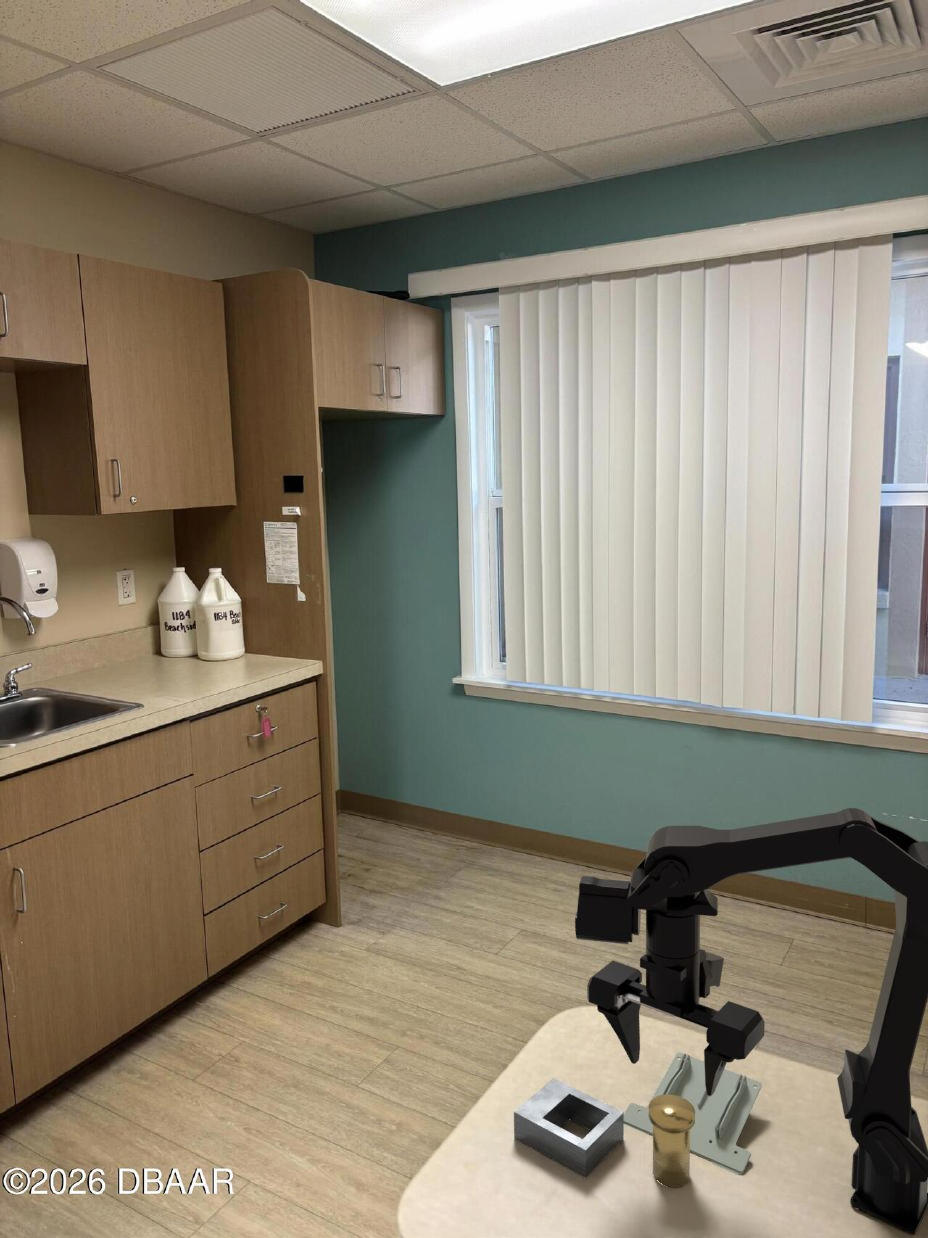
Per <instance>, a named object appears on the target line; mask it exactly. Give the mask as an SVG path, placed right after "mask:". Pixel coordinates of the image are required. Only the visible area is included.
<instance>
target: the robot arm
mask: <svg viewBox="0 0 928 1238" xmlns="http://www.w3.org/2000/svg"><path fill="white" fill-rule="evenodd" d="M843 859H853V860H854V861H856V862H858V863H859V864H861V865H863V866H864V867H865V868H866V869H868V870H869V871H870V872H871V873H873V874H874V875H875V876H876V877H878V878H879V879H881V880H882V881H883V882H884V883H886V884H887V885H888V886H889V887H890V888H891V889H893V890H894V891H893V892H894V908H895V929H894V931H893V932H894V933H893V937H892V942H891V945H890V948H889V954H888V958H887V961H886V967H885V970H884V974H883V978H882V979H883V980H882V983H881V986H880V987H881V988H880V990H879V995H878V1000H877V1004H876V1008H875V1011H874V1016H873V1020H872V1025H871V1028H870V1033H869V1036H868V1040H867V1043H866V1045H865V1047H864V1048H863V1049H861V1051H860V1052H859V1053H855V1052H853V1051H851V1050H849V1049H845V1050H844V1061H843V1068H842V1071H841V1073H840V1074H839V1075H838V1076H837V1078H836V1080H837V1085H838V1089H839V1090H838V1091H839V1095H840V1101H841V1105H842V1110H843V1117H844V1119H845V1120H848V1124H849V1129H850V1131H849V1132H850V1134H851V1136H852V1138H853V1139H854V1141H855V1143H857V1145H858V1146H857V1147H856V1149H855V1150H854V1151H853V1154H852V1166H851V1167H852V1168H851V1184H850V1186H851V1188H852V1189H853V1190H854V1192H853V1194H852V1196H851V1197H850V1205H851V1206H852V1207H854V1208H855V1209H858V1210H859V1211H861V1212H863V1213H866V1214H868V1215H869V1216H873V1217H874V1218H876V1219H879V1220H881V1221H883V1222H885V1223H888V1224H889V1225H892V1227H895V1228H898V1229H899V1230H902V1231H903V1232H906V1233H908V1234H911V1235H915V1234H916V1233H917V1231H918V1229H919V1227H920V1224H921V1223H922V1221H923V1218H924V1216H925V1214H926V1212H927V1210H928V1144H927V1142H926V1139H925V1135H924V1132H923V1129H922V1125H921V1122H920V1120H919V1116H918V1113H917V1110H916V1109H915V1108H914V1107H913V1106H912V1094H911V1093H912V1092H911V1077H910V1076H911V1067H912V1063H913V1060H914V1056H915V1053H916V1048H917V1044H918V1039H919V1037H920V1033H921V1027H922V1024H923V1021H924V1016H925V1012H926V1008H927V1004H928V841H927V840H926V841H925V840H924V841H923V840H922V841H919V840H918V839H916V838H915V837H913V836H911V835H910V834H908V833H907V832H905V831H903V830H901V829H900V828H897V827H895V826H893V825H890V824H887V823H885V822H884V821H880V820H879V819H876V818H875V817H873V816H871V815H869V814H868V813H867V812H866V811H865V810H863V809H860V808H856V807H847V808H844V809H841V810H839V811H837V812H831V813H825V814H818V815H812V816H807V817H800V818H794V819H790V820H789V819H787V820H782V821H776V822H771V823H763V824H756V825H751V826H745V827H739V828H733V829H718V828H717V829H716V828H713V827H712V828H711V827H707V826H703V825H668V826H663V827H660V828H659V829H657V830H656V831H655V832H654V833H653V834H652V836H651V838H650V839H649V841H648V845H647V849H646V855H645V856H644V858H642V860H641V861H640V862H639V864H637V866H636V867H635V868H634V869H633V870H632V872H631V876H630V881H628V880H619V879H618V880H617V879H604V878H599V877H596V876H591V875H589V876H588V875H583V876H581V877H580V881H579V884H578V898H577V908H576V910H577V911H576V914H575V916H574V917H575V919H574V927H575V928H574V929H575V930H574V931H575V933H574V934H575V939H576V940H583V941H592V942H593V941H594V942H600V943H601V942H603V943H609V944H610V943H611V944H612V943H613V944H624V945H629V943H633V939H634V938H633V935H634V936H638V937H639V936H640V932H641V917H642V916H641V915H642V914H641V912H642V910H644V911H645V954H644V955H642V956H641V957H640V958H639V968H642V969H644V970H645V984H643V983H642V982H643V973H642V972H641V970H639V969H638V968H636V967H632V966H630V965H628V964H624V963H621V962H619V961H616V960H612V961H610V962H608V963H607V964H606V965H605V966H603V967H602V968H601V969H600V970H598V971H597V972H596V973H594V974H593V975H592V976H591V977H590V978H589V979H588V982H587V985H586V988H587V989H586V991H587V992H586V993H587V995H586V997H587V999H586V1000H588V1003H590V1004H592V1005H596V1009H597V1012H599V1013H601V1014H603V1016H604V1017H605V1018H606V1020H607V1022H608V1023H609V1025H610V1027H611V1028H612V1030H613V1031H614V1033H615V1035H616V1036H617V1038H618V1040H619V1042H620V1044H621V1046H622V1047H623V1049H624V1051H625V1053H626V1055H627V1057H628V1059H629V1061H630V1063H631V1064H633V1065H636V1064H637V1063H638V1062H639V1061H640V1054H641V1052H640V1051H641V1033H640V1032H641V1031H640V1029H641V1028H640V1026H641V1025H640V1009H641V1006H643V1007H646V1008H648V1009H650V1010H654V1011H656V1012H659V1013H662V1014H664V1015H667V1016H670V1017H675V1018H680V1019H682V1020H685V1021H688V1022H690V1023H691V1024H695V1025H698V1026H701V1027H704V1028H706V1036H705V1037H706V1039H705V1040H706V1042H707V1044H708V1045H706V1047H705V1048H704V1050H703V1055H704V1056H703V1060H704V1063H705V1086H706V1091H707V1095H708V1096H712V1094H713V1093H714V1092H715V1090H716V1087H717V1085H718V1082H719V1080H720V1078H721V1075H722V1073H723V1070H724V1069H726V1066H727V1063H732V1062H734V1061H735V1060H737V1061H739V1060H745V1059H746V1058H747V1057H748V1055H749V1054H751V1053H752V1051H753V1050H754V1049H755V1047H756V1046H757V1045H758V1043H760V1041H761V1040H762V1039H763V1038H764V1037H765V1020H764V1018H763V1015H762V1014H761V1013H760V1012H759V1010H756V1009H752V1008H750V1007H746V1006H744V1005H741V1004H738V1003H735V1002H733V1001H729V1000H727V1002H725V1004H723V1005H722V1006H721V1008H720V1009H718V1010H717V1009H715V1008H712V1007H709V1006H706V1005H703V1004H700V999H701V998H702V999H707V997H708V996H709V995H711V987H714V986H715V987H716V988H717V987H720V986H721V981H722V980H721V979H722V974H723V966H724V962H725V961H724V960H725V958H724V957H723V956H720V955H717V954H714V953H712V952H708V951H706V950H705V949H701V916H708V917H716V916H718V913H719V899H718V897H717V896H716V895H715V894H714V893H712V892H711V891H710V890H709V889H711V888H712V887H714V886H716V885H718V884H720V883H721V882H723V881H725V880H727V879H729V878H731V877H732V878H733V876H734V877H735V876H737V875H743V874H748V873H749V874H750V873H754V872H755V873H756V872H761V871H762V872H763V871H768V870H775V869H783V868H789V867H796V866H797V867H798V866H803V865H809V864H816V863H823V862H828V861H829V862H831V861H837V860H843Z"/></svg>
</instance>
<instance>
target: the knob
mask: <svg viewBox="0 0 928 1238" xmlns="http://www.w3.org/2000/svg"><path fill="white" fill-rule="evenodd" d="M651 1099H652V1098H651ZM648 1105H649V1119H650V1121H651V1123H652V1124H653V1136H652V1176H653V1175H654V1176H653V1178H654V1177H655V1178H654V1180H655V1179H656V1180H658V1181H659V1182H660V1183H662V1184H663V1185H665V1186H664V1187H666V1186H667V1187H666V1188H670V1189H678V1188H679V1189H680V1188H683V1187H684V1186H685V1185H687V1184H688V1182H689V1181H690V1173H691V1172H690V1170H691V1169H690V1164H691V1163H690V1162H691V1161H690V1160H691V1157H690V1156H691V1155H690V1153H691V1152H690V1129H691V1128H692V1127H693V1126H694V1124H695V1109H694V1107H693V1105H692V1104H691V1103H690V1102H689V1101H688V1100H686V1099H684V1098H682V1097H680V1096H676V1095H660V1096H657V1097H655V1098H653V1099H652V1100H650V1101H649V1103H648ZM656 1180H655V1181H656ZM660 1183H659V1184H660ZM663 1185H662V1186H663Z"/></svg>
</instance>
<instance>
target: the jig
mask: <svg viewBox="0 0 928 1238" xmlns="http://www.w3.org/2000/svg"><path fill="white" fill-rule="evenodd" d="M624 1114H625V1112H624V1111H622V1110H620V1109H618V1108H616V1107H615V1106H614V1107H613V1106H612V1105H609V1104H608V1103H605V1102H604V1101H602V1100H600V1099H597V1098H596V1097H594V1096H591V1095H590V1094H588V1093H586V1092H584V1091H581V1090H579V1089H577V1088H575V1087H573V1086H571V1085H569V1084H567V1083H565V1082H563V1081H560V1080H558V1079H557V1078H555V1077H553V1078H551V1079H550V1080H549V1081H548V1082H547V1083H546V1084H545V1085H543V1086H542V1087H541V1088H539V1090H537V1091H536V1092H535V1093H534V1094H532V1095H531V1097H529V1098H528V1099H527V1100H526V1101H524V1103H522V1104H521V1105H520V1106H519V1107H518V1108H516V1109H515V1110H514V1111H513V1139H514V1140H516V1141H518V1142H520V1143H521V1144H523V1145H525V1146H527V1147H528V1148H530V1149H532V1150H533V1151H535V1152H537V1153H539V1154H541V1155H542V1156H545V1157H546V1158H548V1159H550V1160H551V1161H554V1162H556V1163H558V1164H559V1165H561V1166H562V1167H564V1168H566V1169H568V1170H570V1171H572V1172H573V1173H575V1174H576V1175H578V1176H580V1177H582V1178H584V1179H587V1177H588V1176H590V1174H592V1173H593V1172H594V1171H595V1169H596V1168H598V1167H599V1165H600V1164H601V1163H602V1162H604V1160H605V1159H606V1158H607V1157H608V1156H609V1155H610V1154H611V1153H612V1152H613V1151H614V1150H615V1149H616V1147H618V1145H620V1144H621V1142H623V1140H624V1138H625V1136H624V1130H625V1129H624V1127H625V1124H624ZM569 1121H571V1122H573V1123H575V1124H576V1125H579V1126H580V1127H583V1128H585V1129H587V1130H589V1131H590V1132H588V1133H587V1134H586V1135H585V1136H584V1137H583V1138H580V1137H579V1136H578V1135H575V1134H574V1133H571V1132H570V1131H567V1130H566V1129H564V1128H563V1127H564V1126H565V1124H566V1123H568V1122H569Z"/></svg>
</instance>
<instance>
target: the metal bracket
mask: <svg viewBox="0 0 928 1238" xmlns="http://www.w3.org/2000/svg"><path fill="white" fill-rule="evenodd" d="M754 1087H756V1088H754ZM762 1087H763V1085H762V1082H761V1081H758V1080H755V1079H753V1078H749V1077H747V1075H744V1074H742V1073H740V1074H739V1073H737V1072H734V1071H731V1070H729V1069H726V1068H724V1070H723V1073H722V1075H721V1078H720V1080H719V1082H718V1085H717V1087H716V1090H715V1092H714V1093H713V1094H712V1096H708V1095H707V1091H706V1086H705V1063H704V1061H703V1060H701V1059H698V1058H695V1057H693V1056H691V1055H690V1054H686V1053H685V1052H684V1053H683V1052H677V1053H676V1054H675V1056H674V1058H673V1060H672V1061H671V1063H670V1065H669V1067H668V1068H667V1071H666V1072H665V1074H664V1076H663V1078H662V1080H661V1081H660V1083H659V1085H658V1087H657V1088H656V1091H655V1092H654V1093H653V1096H652V1098H651V1100H652V1099H653V1098H655V1097H657V1096H660V1095H676V1096H680V1097H682V1098H684V1099H686V1100H688V1101H689V1102H690V1103H691V1104H692V1105H693V1107H694V1109H695V1124H694V1126H693V1127H692V1128H691V1129H690V1153H691V1154H693V1155H695V1156H698V1157H700V1158H703V1159H705V1160H707V1161H710V1162H711V1163H712V1165H714V1166H716V1167H719V1168H720V1169H723V1170H725V1171H728V1173H731V1174H734V1175H738V1176H739V1175H741V1176H742V1175H743V1174H744V1173H745V1170H746V1168H747V1166H748V1164H749V1161H750V1158H751V1156H752V1153H751V1151H749V1150H747V1149H745V1148H743V1147H740V1146H738V1145H737V1142H738V1140H739V1138H740V1135H741V1134H742V1132H743V1129H744V1127H745V1125H746V1122H747V1121H748V1118H749V1116H750V1114H751V1111H752V1110H753V1107H754V1105H755V1102H756V1100H757V1098H758V1096H759V1093H760V1091H761V1089H762ZM651 1100H650V1101H651ZM625 1125H626V1127H630V1128H631V1129H634V1130H637V1131H639V1132H641V1133H643V1134H645V1135H647V1134H648V1135H650V1136H652V1137H653V1124H652V1123H651V1121H650V1119H649V1104H648V1105H647V1106H646V1107H645V1106H642V1105H640V1104H638V1103H635V1102H630V1103H629V1105H628V1107H627V1109H626V1110H625V1112H624V1126H625ZM735 1152H736V1153H735Z"/></svg>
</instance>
